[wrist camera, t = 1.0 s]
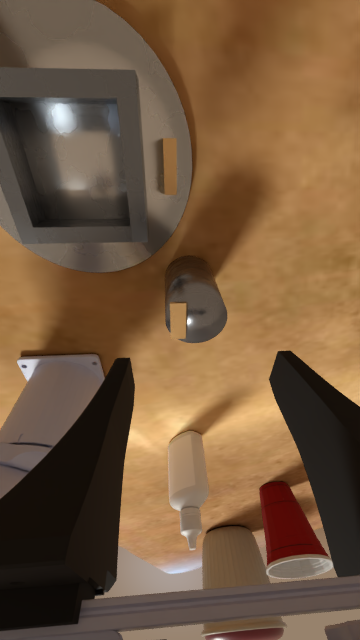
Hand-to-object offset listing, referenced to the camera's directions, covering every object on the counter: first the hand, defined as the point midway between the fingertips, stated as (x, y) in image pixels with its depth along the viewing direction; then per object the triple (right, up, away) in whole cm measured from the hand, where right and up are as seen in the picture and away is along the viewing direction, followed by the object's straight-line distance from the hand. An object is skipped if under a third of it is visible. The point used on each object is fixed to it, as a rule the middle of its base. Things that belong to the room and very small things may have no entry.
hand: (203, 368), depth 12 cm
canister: (+11, -54, +53) cm, 76 cm away
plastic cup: (+17, -31, +37) cm, 51 cm away
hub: (-7, +12, +4) cm, 15 cm away
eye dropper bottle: (-1, -15, +24) cm, 28 cm away
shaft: (-1, +6, +9) cm, 10 cm away
